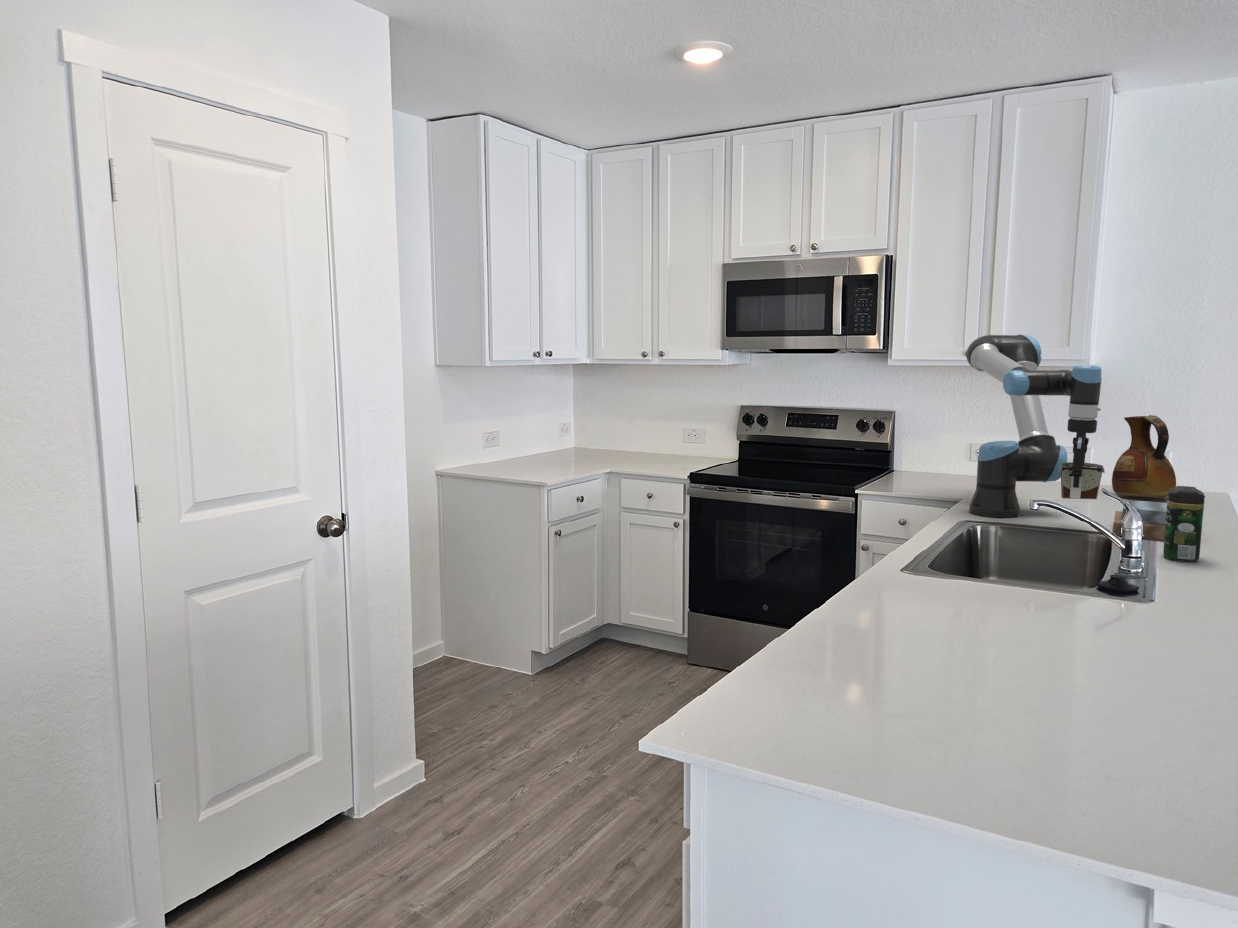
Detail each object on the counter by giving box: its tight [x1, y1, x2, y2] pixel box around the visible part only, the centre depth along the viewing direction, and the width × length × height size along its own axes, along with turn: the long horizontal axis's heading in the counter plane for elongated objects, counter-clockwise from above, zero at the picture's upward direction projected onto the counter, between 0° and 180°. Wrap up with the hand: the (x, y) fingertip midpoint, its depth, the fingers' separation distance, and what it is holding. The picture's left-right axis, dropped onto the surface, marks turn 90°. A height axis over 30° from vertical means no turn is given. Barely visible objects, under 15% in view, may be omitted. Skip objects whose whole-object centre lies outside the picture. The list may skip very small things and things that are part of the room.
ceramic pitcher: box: [1111, 414, 1177, 498], centre depth 306 cm, size 20×20×30 cm
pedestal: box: [1112, 499, 1167, 542], centre depth 250 cm, size 20×20×8 cm
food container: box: [1058, 461, 1106, 500], centre depth 254 cm, size 12×6×10 cm, turn 80°
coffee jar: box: [1162, 485, 1206, 563], centre depth 220 cm, size 10×8×19 cm
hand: (1075, 496), depth 254 cm, fingers closed on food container, 6 cm apart
